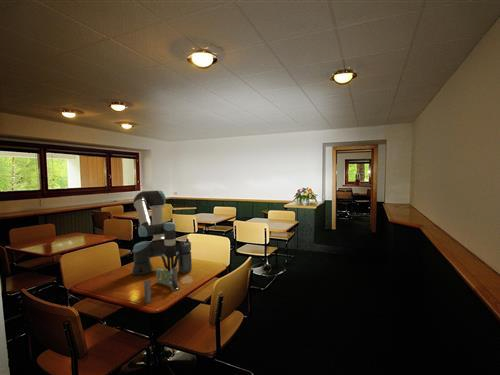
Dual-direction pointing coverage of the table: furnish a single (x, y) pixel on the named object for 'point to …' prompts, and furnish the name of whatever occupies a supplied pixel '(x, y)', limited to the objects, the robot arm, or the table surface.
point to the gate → (162, 279)
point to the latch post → (147, 291)
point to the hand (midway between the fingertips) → (171, 277)
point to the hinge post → (175, 280)
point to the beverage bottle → (184, 257)
